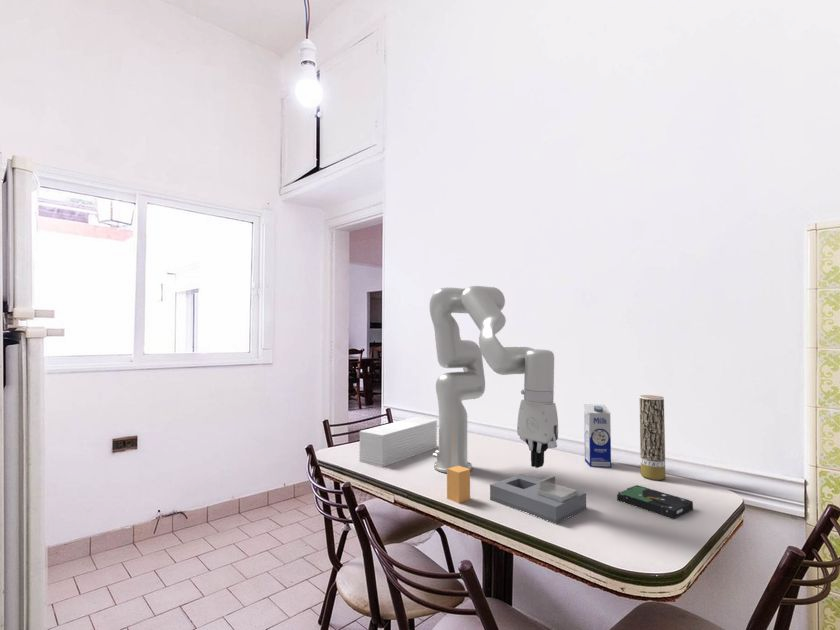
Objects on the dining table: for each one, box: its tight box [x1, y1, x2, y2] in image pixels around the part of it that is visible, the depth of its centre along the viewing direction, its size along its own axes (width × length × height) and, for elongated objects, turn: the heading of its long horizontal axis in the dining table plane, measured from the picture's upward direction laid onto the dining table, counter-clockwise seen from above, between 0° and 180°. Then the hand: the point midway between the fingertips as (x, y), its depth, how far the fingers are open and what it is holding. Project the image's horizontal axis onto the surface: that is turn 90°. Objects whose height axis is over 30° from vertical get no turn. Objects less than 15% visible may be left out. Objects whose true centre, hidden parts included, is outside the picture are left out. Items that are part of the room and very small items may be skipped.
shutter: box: [537, 475, 578, 502], centre depth 111 cm, size 7×7×3 cm
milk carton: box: [583, 403, 612, 468], centre depth 151 cm, size 7×7×20 cm
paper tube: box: [639, 394, 666, 481], centre depth 137 cm, size 7×7×25 cm
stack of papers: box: [358, 416, 438, 468], centre depth 163 cm, size 32×11×11 cm, turn 143°
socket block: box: [489, 473, 587, 524], centre depth 115 cm, size 20×14×4 cm
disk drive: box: [616, 484, 694, 520], centre depth 115 cm, size 10×3×15 cm
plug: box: [446, 466, 471, 504], centre depth 119 cm, size 4×4×8 cm
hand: (537, 466), depth 115 cm, fingers closed
